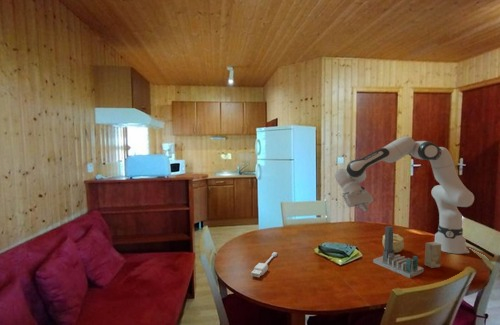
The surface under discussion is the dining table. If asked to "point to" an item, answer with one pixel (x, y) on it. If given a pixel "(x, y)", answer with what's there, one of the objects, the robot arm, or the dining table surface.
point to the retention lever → (389, 239)
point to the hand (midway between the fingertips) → (366, 210)
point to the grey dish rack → (399, 264)
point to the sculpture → (395, 242)
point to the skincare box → (432, 254)
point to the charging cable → (262, 267)
